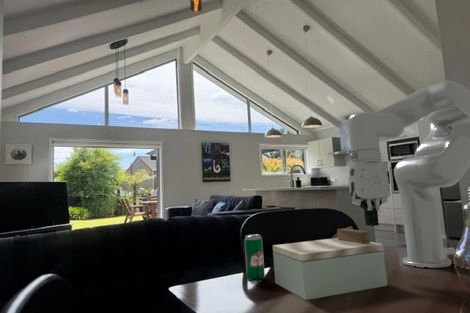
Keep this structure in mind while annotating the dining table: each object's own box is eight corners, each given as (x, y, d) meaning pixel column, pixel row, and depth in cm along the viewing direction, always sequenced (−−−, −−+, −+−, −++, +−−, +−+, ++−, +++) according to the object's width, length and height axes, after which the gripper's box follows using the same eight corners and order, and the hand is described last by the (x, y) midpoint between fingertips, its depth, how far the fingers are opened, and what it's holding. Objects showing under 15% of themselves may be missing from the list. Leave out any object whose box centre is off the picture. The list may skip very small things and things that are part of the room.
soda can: (252, 282, 90) (249, 237, 91) (243, 278, 94) (240, 235, 96) (268, 278, 92) (265, 234, 93) (258, 275, 97) (255, 233, 98)
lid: (343, 242, 95) (341, 227, 95) (383, 250, 80) (381, 232, 80) (272, 251, 88) (271, 234, 89) (302, 261, 73) (300, 241, 74)
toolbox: (346, 272, 94) (343, 243, 95) (387, 285, 79) (383, 251, 80) (275, 282, 87) (272, 251, 88) (305, 300, 72) (302, 262, 73)
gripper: (351, 156, 86) (357, 228, 83) (398, 155, 90) (405, 224, 88) (334, 159, 93) (340, 226, 90) (378, 159, 97) (384, 222, 95)
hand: (372, 225), depth 89 cm, fingers closed
